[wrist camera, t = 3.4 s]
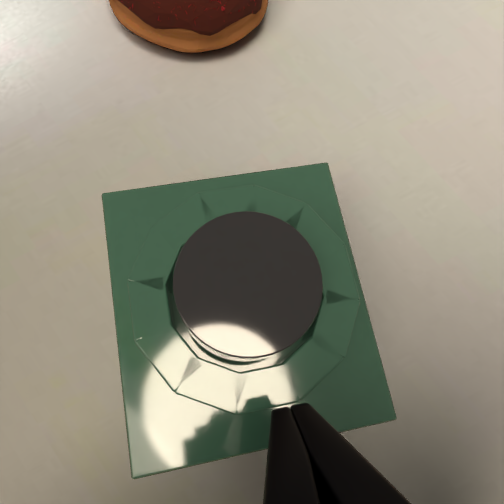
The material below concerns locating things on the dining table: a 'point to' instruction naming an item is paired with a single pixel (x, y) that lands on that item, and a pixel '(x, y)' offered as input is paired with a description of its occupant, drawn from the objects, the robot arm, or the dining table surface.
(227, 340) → the dark round knob
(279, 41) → the dining table surface
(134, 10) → the donut
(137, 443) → the button base
